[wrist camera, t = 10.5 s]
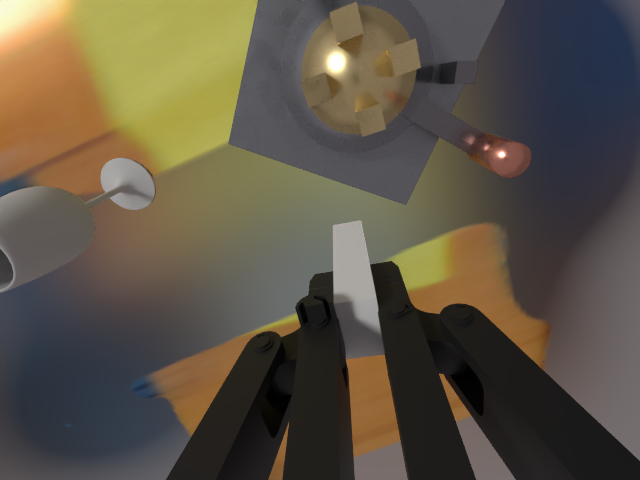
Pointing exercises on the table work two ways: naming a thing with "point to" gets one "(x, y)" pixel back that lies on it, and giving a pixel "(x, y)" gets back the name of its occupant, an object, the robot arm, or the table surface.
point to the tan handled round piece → (386, 86)
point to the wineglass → (61, 221)
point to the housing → (340, 148)
